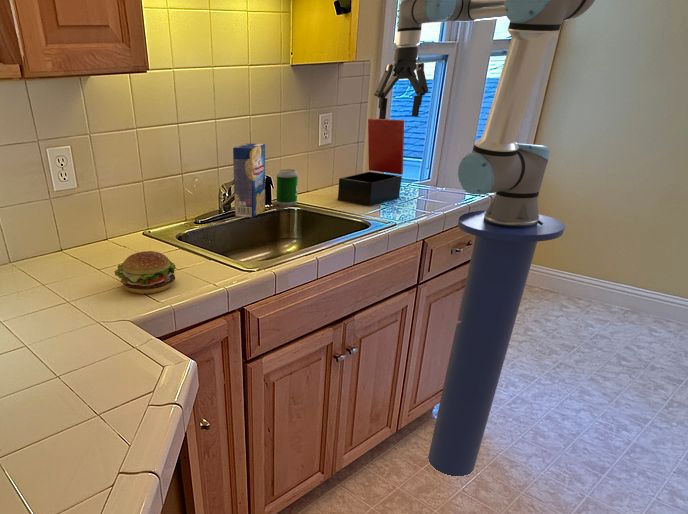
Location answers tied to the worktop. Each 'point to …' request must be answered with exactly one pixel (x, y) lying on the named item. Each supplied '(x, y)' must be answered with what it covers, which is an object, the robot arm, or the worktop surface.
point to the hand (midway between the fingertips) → (398, 117)
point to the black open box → (369, 188)
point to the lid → (386, 145)
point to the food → (146, 272)
